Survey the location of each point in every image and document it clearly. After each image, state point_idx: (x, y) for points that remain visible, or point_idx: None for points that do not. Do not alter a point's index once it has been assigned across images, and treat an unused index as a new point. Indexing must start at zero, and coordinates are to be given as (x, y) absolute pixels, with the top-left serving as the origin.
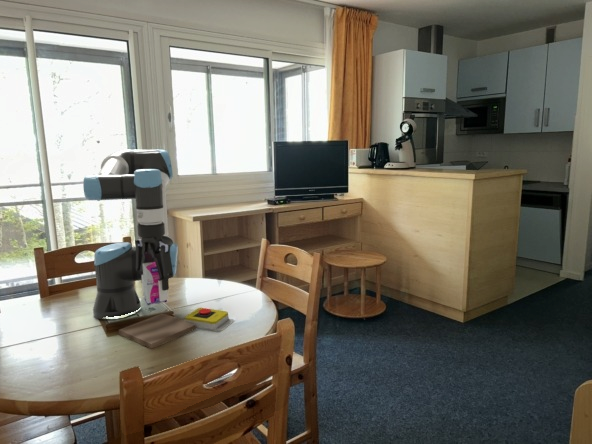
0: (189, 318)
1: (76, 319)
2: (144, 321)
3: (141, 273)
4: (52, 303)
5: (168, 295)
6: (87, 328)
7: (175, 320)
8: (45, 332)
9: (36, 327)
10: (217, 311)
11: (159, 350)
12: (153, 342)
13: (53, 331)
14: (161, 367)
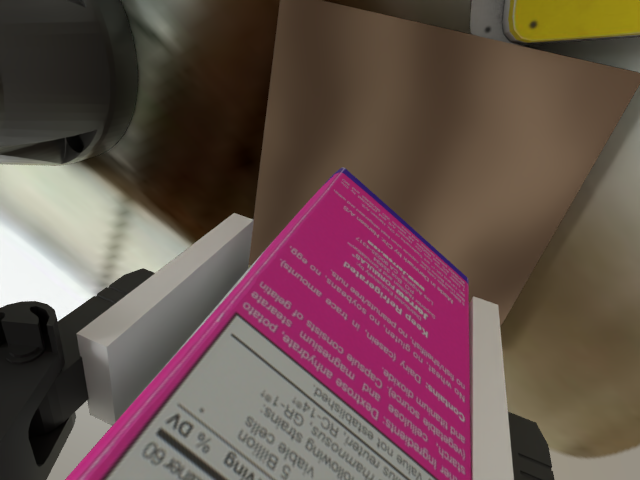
0: (567, 39)
1: (19, 183)
2: (276, 151)
3: (70, 423)
4: None
5: (499, 327)
6: (119, 238)
7: (440, 66)
8: (59, 292)
9: (8, 270)
10: None
11: (532, 342)
12: None
13: (67, 282)
14: (625, 450)
